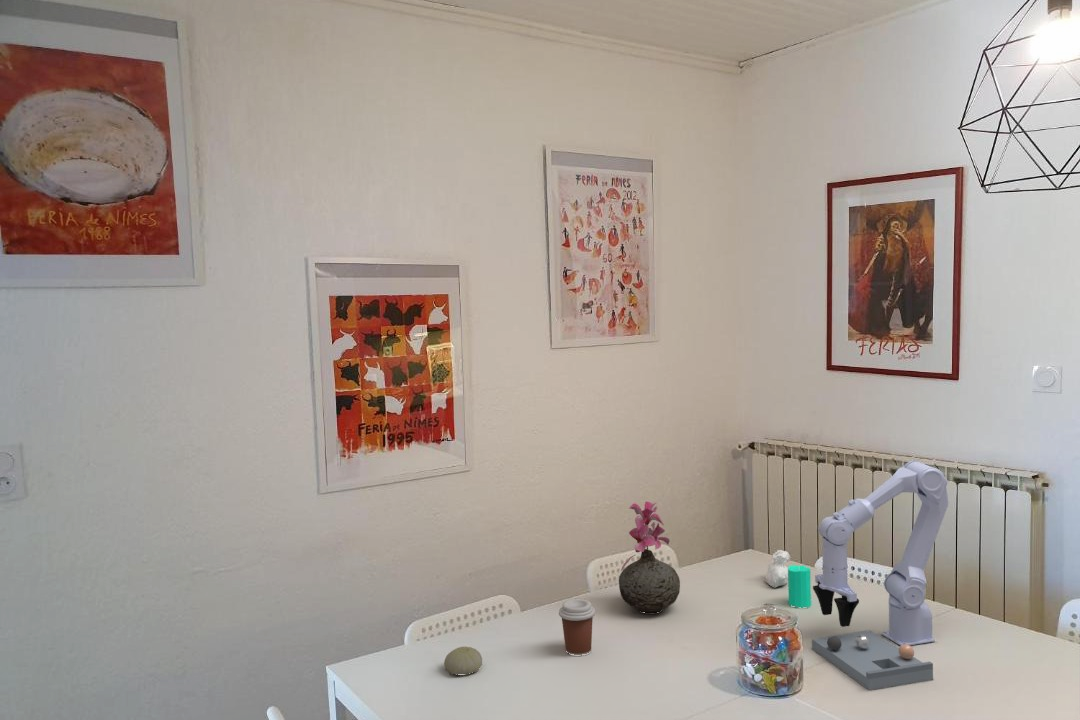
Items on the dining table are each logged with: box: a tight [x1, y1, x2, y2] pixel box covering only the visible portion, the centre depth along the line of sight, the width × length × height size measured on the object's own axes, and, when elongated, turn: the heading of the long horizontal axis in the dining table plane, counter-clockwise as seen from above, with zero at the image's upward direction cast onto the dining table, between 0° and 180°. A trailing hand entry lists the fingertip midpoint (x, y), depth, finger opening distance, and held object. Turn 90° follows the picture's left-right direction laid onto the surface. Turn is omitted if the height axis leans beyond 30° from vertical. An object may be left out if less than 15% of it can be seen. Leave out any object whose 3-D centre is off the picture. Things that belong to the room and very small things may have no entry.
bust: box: [764, 549, 791, 589], centre depth 235 cm, size 12×8×11 cm
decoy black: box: [827, 635, 842, 650], centre depth 183 cm, size 3×3×3 cm
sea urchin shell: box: [443, 646, 483, 675], centre depth 187 cm, size 9×8×8 cm
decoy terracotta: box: [898, 644, 915, 659], centre depth 177 cm, size 3×3×3 cm
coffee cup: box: [558, 598, 596, 655], centre depth 194 cm, size 9×9×12 cm
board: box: [811, 630, 934, 691], centre depth 181 cm, size 16×22×4 cm
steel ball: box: [855, 635, 870, 649], centre depth 183 cm, size 3×3×3 cm
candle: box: [787, 564, 812, 608], centre depth 217 cm, size 6×6×12 cm
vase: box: [618, 501, 681, 614], centre depth 218 cm, size 17×18×30 cm
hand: (835, 620), depth 193 cm, fingers open, 7 cm apart
